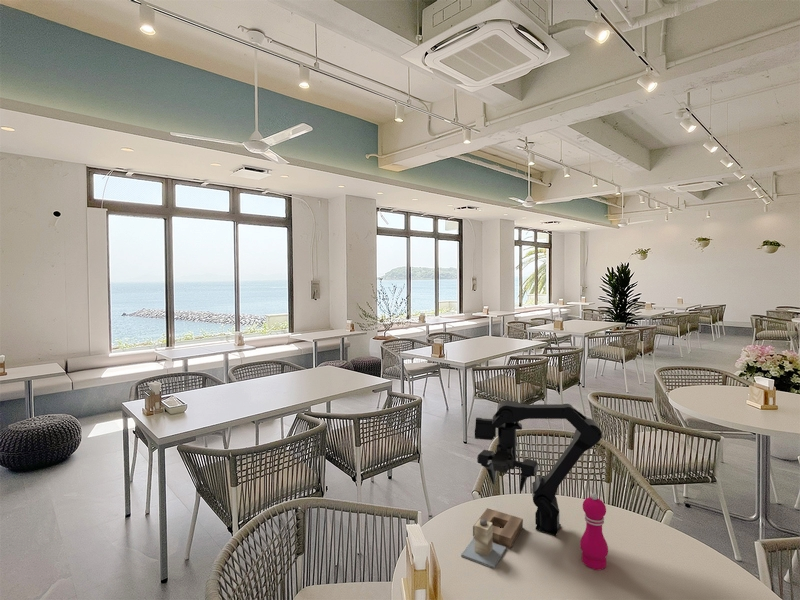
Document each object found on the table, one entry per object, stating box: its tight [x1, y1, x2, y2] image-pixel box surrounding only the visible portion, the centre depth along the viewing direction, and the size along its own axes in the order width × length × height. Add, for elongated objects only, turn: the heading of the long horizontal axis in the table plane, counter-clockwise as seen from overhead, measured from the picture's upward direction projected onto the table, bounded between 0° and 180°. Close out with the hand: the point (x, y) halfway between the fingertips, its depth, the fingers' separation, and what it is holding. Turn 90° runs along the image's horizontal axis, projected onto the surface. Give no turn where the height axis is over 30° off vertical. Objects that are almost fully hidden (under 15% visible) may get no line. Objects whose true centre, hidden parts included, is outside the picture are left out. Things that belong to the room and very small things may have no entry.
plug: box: [473, 518, 494, 557], centre depth 125 cm, size 4×4×9 cm
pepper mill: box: [579, 492, 609, 571], centre depth 120 cm, size 7×7×20 cm
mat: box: [460, 537, 507, 569], centre depth 126 cm, size 10×10×1 cm
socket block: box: [472, 508, 524, 549], centre depth 136 cm, size 12×12×3 cm
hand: (507, 487), depth 139 cm, fingers open, 9 cm apart
